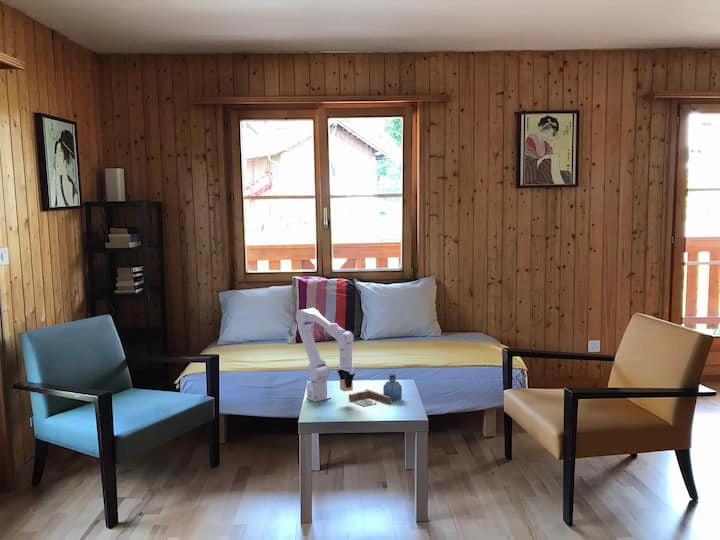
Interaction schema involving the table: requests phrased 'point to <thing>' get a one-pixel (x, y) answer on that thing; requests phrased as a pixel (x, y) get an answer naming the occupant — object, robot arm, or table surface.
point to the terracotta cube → (343, 386)
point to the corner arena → (368, 394)
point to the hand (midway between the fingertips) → (346, 386)
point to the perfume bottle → (393, 388)
